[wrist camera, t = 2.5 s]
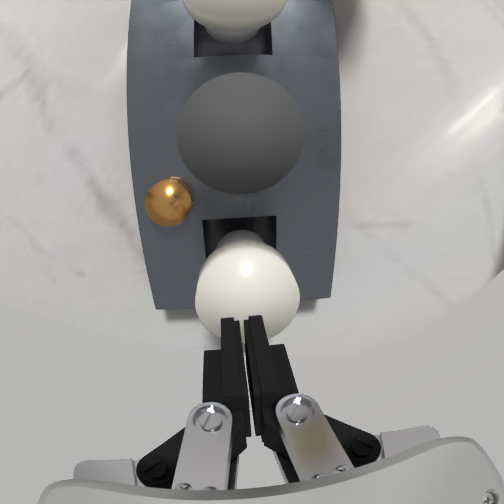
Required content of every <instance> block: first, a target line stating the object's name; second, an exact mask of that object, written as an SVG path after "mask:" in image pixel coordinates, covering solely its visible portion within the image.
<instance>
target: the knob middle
mask: <svg viewBox="0 0 504 504" xmlns="http://www.w3.org/2000/svg"><path fill="white" fill-rule="evenodd" d="M176 138H177V145H178V149H179V153H180V155H181V158H182V160H183V162H184V164H185V165H186V167H187V168H188V170H189V171H190V172H191V173H192V174H193V175H194V176H195V177H196V178H197V179H198V180H199V181H200V182H202V183H203V184H204V185H206V186H208V187H210V188H212V189H214V190H217V191H219V192H223V193H227V194H234V195H245V194H253V193H257V192H260V191H263V190H266V189H268V188H270V187H272V186H274V185H275V184H277V183H278V182H280V181H281V180H282V179H283V178H284V177H286V176H287V175H288V173H289V172H290V171H291V170H292V169H293V167H294V166H295V164H296V163H297V161H298V159H299V157H300V154H301V151H302V148H303V143H304V123H303V119H302V115H301V112H300V110H299V108H298V106H297V104H296V102H295V101H294V99H293V98H292V96H291V95H290V94H289V93H288V92H287V91H286V90H285V89H284V88H283V87H282V86H280V85H279V84H278V83H276V82H274V81H273V80H271V79H269V78H266V77H264V76H261V75H257V74H253V73H243V72H238V73H229V74H224V75H221V76H218V77H215V78H213V79H211V80H209V81H207V82H206V83H204V84H203V85H201V86H200V87H199V88H198V89H197V90H195V91H194V92H193V93H192V95H191V96H190V97H189V98H188V100H187V101H186V103H185V104H184V106H183V108H182V110H181V113H180V115H179V119H178V123H177V135H176Z"/></svg>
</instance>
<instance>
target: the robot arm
mask: <svg viewBox="0 0 504 504" xmlns="http://www.w3.org/2000/svg"><path fill="white" fill-rule="evenodd" d="M244 337H245V353H246V366H247V376H248V383H249V391H250V398H251V405H252V412H253V419H254V427H255V434H256V436H260V435H261V438H262V442H264V446H266V447H268V448H269V449H271V450H273V452H274V456H275V458H276V461H277V463H278V466H279V468H280V470H281V473H282V476H283V478H284V481H285V483H286V484H283V485H276V486H270V487H260V488H251V489H236V486H237V475H238V464H239V454H240V453H242V452H243V451H244V450H245V449H246V448H247V443H246V437H250V436H251V425H250V410H249V397H248V388H247V380H246V372H245V365H244V355H243V347H242V339H241V330H240V322H239V320H236V321H234V317H229V318H221V350H205V351H204V367H203V369H204V370H203V403H202V404H199V405H197V406H196V407H194V408H193V409H192V411H191V412H190V414H189V416H188V420H187V424H186V427H185V428H183V429H182V430H181V431H179V432H178V433H177V434H175V435H174V436H172V437H171V438H170V439H168V440H167V441H166V442H164V443H163V444H161V445H160V446H159V447H157V448H156V449H154V450H153V451H151V452H150V453H149V454H147V455H146V456H144V457H143V458H142V459H141V460H134V461H133V460H132V459H120V460H87V461H82V462H80V463H79V464H77V466H76V467H75V469H74V479H69V480H61V481H58V482H54V483H52V484H50V485H48V486H47V487H46V488H45V490H44V491H43V492H42V494H41V496H40V499H39V501H38V504H504V482H503V480H502V478H501V476H500V474H499V472H498V471H497V469H496V467H495V465H494V464H493V462H492V460H491V459H490V457H489V456H488V454H487V453H486V452H485V451H484V449H483V448H482V447H481V446H480V445H479V444H478V443H477V442H476V441H474V440H473V439H470V438H467V437H447V438H441V439H440V435H439V433H438V431H437V430H436V429H434V428H433V427H430V426H421V427H415V428H410V429H404V430H398V431H391V432H383V433H381V434H380V435H375V436H374V435H372V434H370V433H368V432H365V431H362V430H360V429H357V428H355V427H352V426H350V425H347V424H345V423H343V422H340V421H338V420H336V419H333V418H331V417H329V416H327V415H324V414H323V412H322V411H321V409H320V407H319V405H318V403H317V402H316V401H315V400H314V399H313V398H311V397H310V396H307V395H304V394H299V392H298V389H297V386H296V383H295V379H294V376H293V373H292V369H291V366H290V362H289V359H288V356H287V352H286V349H285V346H284V344H278V345H269V343H268V339H267V335H266V330H265V326H264V322H263V318H262V315H254V316H248V320H244Z"/></svg>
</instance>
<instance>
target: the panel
mask: <svg viewBox="0 0 504 504" xmlns="http://www.w3.org/2000/svg"><path fill="white" fill-rule="evenodd" d="M238 72H243V73H253V74H257V75H261V76H264V77H266V78H269V79H271V80H273V81H274V82H276V83H278V84H279V85H280V86H282V87H283V88H284V89H285V90H286V91H287V92H288V93H289V94H290V95H291V96H292V98H293V99H294V101H295V102H296V104H297V106H298V108H299V110H300V112H301V115H302V119H303V123H304V143H303V148H302V151H301V154H300V157H299V159H298V161H297V163H296V164H295V166H294V167H293V169H292V170H291V171H290V172H289V173H288V175H287V176H286V177H284V178H283V179H282V180H281V181H280V182H278V183H277V184H275V185H274V186H272V187H270V188H268V189H266V190H263V191H260V192H257V193H253V194H245V195H234V194H227V193H223V192H219V191H217V190H214V189H212V188H210V187H208V186H206V185H204V184H203V183H202V182H200V181H199V180H198V179H197V178H196V177H195V176H194V175H193V174H192V173H191V172H190V171H189V170H188V168H187V167H186V165H185V164H184V162H183V160H182V158H181V155H180V153H179V149H178V145H177V138H176V135H177V123H178V119H179V115H180V113H181V110H182V108H183V106H184V104H185V103H186V101H187V100H188V98H189V97H190V96H191V95H192V93H193V92H194V91H195V90H197V89H198V88H199V87H200V86H201V85H203V84H204V83H206V82H207V81H209V80H211V79H213V78H215V77H218V76H221V75H224V74H229V73H238ZM127 117H128V136H129V150H130V161H131V171H132V180H133V189H134V197H135V204H136V211H137V218H138V224H139V230H140V236H141V242H142V247H143V253H144V258H145V263H146V268H147V273H148V277H149V282H150V286H151V291H152V295H153V299H154V303H155V308H156V310H159V309H188V308H196V307H195V296H196V290H197V284H198V278H199V273H200V270H201V267H202V265H203V264H204V262H205V260H206V259H207V258H208V257H209V255H211V254H212V253H213V252H214V251H215V250H216V246H217V244H218V242H219V241H220V240H221V238H223V237H224V236H225V235H226V234H228V233H230V232H232V231H236V230H248V231H251V232H254V233H256V234H257V235H259V236H260V237H261V238H262V239H263V241H264V242H265V244H267V245H269V246H271V247H273V248H274V249H276V250H277V251H278V252H279V253H280V254H281V255H282V256H283V257H284V258H285V260H286V261H287V263H288V265H289V267H290V269H291V272H292V274H293V276H294V278H295V280H296V282H297V285H298V288H299V293H300V301H302V300H312V299H321V298H330V296H331V288H332V280H333V271H334V261H335V251H336V240H337V228H338V214H339V196H340V172H341V101H340V78H339V62H338V49H337V38H336V28H335V19H334V11H333V4H332V0H288V1H287V3H286V5H285V7H284V9H283V10H282V12H281V13H280V14H279V16H278V17H277V18H275V19H274V20H273V21H271V22H270V23H268V24H266V25H264V26H262V27H260V29H259V31H258V32H257V34H256V35H255V36H253V37H252V38H251V39H249V40H247V41H244V42H240V43H224V42H220V41H218V40H216V39H214V38H212V37H211V36H210V35H209V34H208V33H207V31H206V29H205V26H203V25H201V24H200V23H198V22H197V21H195V20H194V19H193V18H192V17H191V16H190V15H189V14H188V12H187V11H186V9H185V7H184V4H183V1H182V0H131V9H130V19H129V32H128V49H127Z"/></svg>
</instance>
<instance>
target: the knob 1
mask: <svg viewBox="0 0 504 504" xmlns="http://www.w3.org/2000/svg"><path fill="white" fill-rule="evenodd" d="M182 1H183V4H184V7H185V9H186V11H187V12H188V14H189V15H190V16H191V17H192V18H193V19H194V20H195V21H197V22H198V23H200V24H201V25H203V26H205V29H206V31H207V33H208V34H209V35H210V36H211V37H212V38H214V39H216V40H218V41H220V42H224V43H240V42H244V41H247V40H249V39H251V38H252V37H253V36H255V35H256V34H257V32H258V31H259V29H260V27H262V26H264V25H266V24H268V23H270V22H271V21H273V20H274V19H275V18H277V17H278V16H279V14H280V13H281V12H282V10H283V9H284V7H285V5H286V3H287V1H288V0H182Z"/></svg>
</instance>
